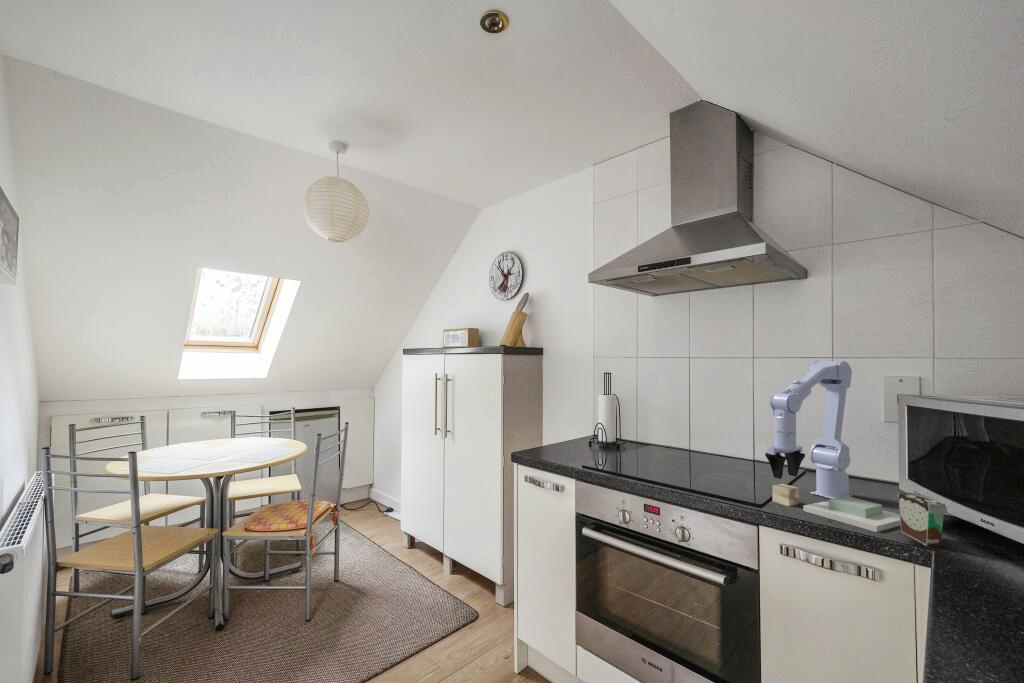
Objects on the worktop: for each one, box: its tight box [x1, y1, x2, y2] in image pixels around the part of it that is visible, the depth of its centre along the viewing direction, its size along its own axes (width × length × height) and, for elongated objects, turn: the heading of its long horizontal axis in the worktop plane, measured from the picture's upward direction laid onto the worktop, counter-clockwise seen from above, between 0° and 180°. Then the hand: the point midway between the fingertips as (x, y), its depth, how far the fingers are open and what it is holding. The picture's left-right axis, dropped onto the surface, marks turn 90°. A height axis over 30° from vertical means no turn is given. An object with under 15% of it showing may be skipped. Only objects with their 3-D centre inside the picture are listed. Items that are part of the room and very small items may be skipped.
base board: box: [802, 496, 901, 533], centre depth 126 cm, size 18×18×4 cm
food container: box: [896, 490, 948, 547], centre depth 110 cm, size 12×6×10 cm, turn 168°
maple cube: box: [771, 483, 800, 507], centre depth 137 cm, size 5×5×5 cm
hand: (785, 476), depth 138 cm, fingers open, 7 cm apart
